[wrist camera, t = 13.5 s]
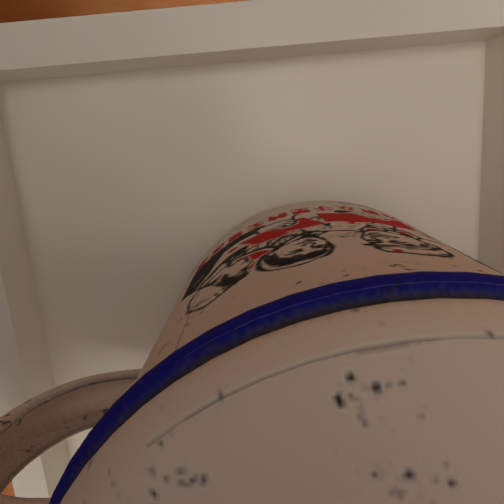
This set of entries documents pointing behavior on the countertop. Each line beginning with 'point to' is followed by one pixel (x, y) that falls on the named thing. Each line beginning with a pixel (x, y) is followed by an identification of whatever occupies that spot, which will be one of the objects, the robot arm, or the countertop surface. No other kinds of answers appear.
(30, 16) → the countertop surface
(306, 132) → the tray
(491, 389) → the teacup with lid
